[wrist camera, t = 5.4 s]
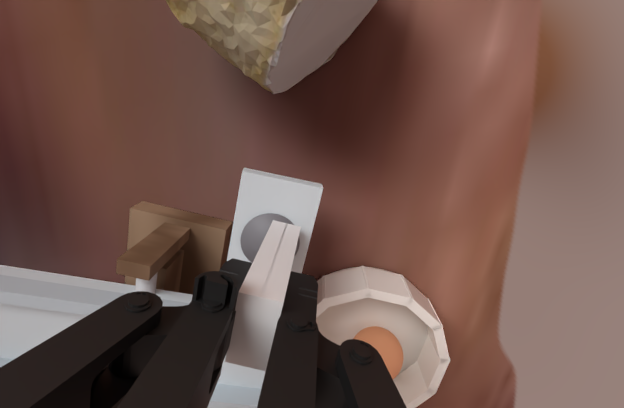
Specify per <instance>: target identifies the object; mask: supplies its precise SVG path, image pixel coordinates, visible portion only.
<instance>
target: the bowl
mask: <svg viewBox="0 0 624 408" xmlns="http://www.w3.org/2000/svg"><path fill="white" fill-rule="evenodd" d="M317 283H318V297H317V314H316V323H317V325H318V329H319V331H320V333H321V334H322V335H323V336H324V337H325V338H327V339H328V340H330V341H332V342H334V343H336V344H338V345H341V344H342V342H344V341H346V340H348V339H353V338H354V337H355V335H356V334H357V333H358V332H359V331H361V330H362V329H364V328H367V327H372V326H377V327H382V328H385V329H387V330H389V331H390V332H391V333H393V334H394V335H395V336H396V338H397V339H398V341H399V342H400V344H401V347H402V350H403V365H402V368H401V370H400V372H399V374H398V375H397V376H396V377H395V378H394V379H393V381H394V383H395V385H396V387H397V389H398V391H399V393H400V395H401V397H402V399H403V401H404V403H405V405H406V407H407V408H416V407H417V406H419V405H420V404H422V403H423V402H424V401H426V400H427V399H429V398H430V397H431V396H433V395H434V394H436V391H437V389H438V387H439V385H440V382H441V380H442V378H443V376H444V373H445V371H446V369H447V367H448V364H449V362H450V358H449V354H448V349H447V344H446V340H445V335H444V331H443V325H442V323H441V321H440V319H439V318H438V316H437V314H436V312H435V310H434V308H433V306H432V304H431V303H430V301H429V299H427V298H426V297H425V296H424V295H423V294H422V293H421V292H420V291H419V290H418V289H417V288H416V287H415V286H414V285H413V284H412V283H411V282H409V281H408V280H407V279H406V278H404V277H403V275H401V274H396V273H393V272H391V271H388V270H384V269H381V268H375V267H365V266H360V267H351V268H346V269H342V270H338V271H335V272H332V273H330V274H328V275H324V276H322V278H321V279H319V280H318V281H317Z"/></svg>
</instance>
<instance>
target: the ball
mask: <svg viewBox="0 0 624 408" xmlns="http://www.w3.org/2000/svg"><path fill="white" fill-rule="evenodd" d="M353 339H357V340H362V341H364V342H366V343H368V344H370V345H371V346H373V347H374V348H375V349H376V350H377V351H378V352H379V354H380V355H381V357H382V359H383V361H384V363H385V365H386V367H387V369H388V371H389V373H390V375H391V377H392V379H394V378H395V377H396V376H397V375H398V374H399V372H400V370H401V368H402V365H403V350H402V347H401V344H400V342H399V341H398V339H397V338H396V336H395V335H394V334H393V333H391V332H390V331H389V330H387V329H385V328H382V327H377V326H372V327H367V328H364V329H362V330H361V331H359V332H358V333H357V334H356V335H355V337H354V338H353Z"/></svg>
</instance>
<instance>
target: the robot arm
mask: <svg viewBox="0 0 624 408" xmlns="http://www.w3.org/2000/svg"><path fill="white" fill-rule="evenodd" d="M300 229H301V227H300V226H296V225H292V224H288V223H283V222H279V221H275V220H273V221H272V223H271V226H270V228H269V230H268V232H267V234H266V236H265V238H264V240H263V242H262V244H261V246H260V248H259V251H258V253H257V255H256V257H255V259H254V261H253V263H251V262H247V261H242V260H238V259H234V258H232V259H230V260H229V261H227V262H225V263H224V264H223V265H222V267H221V268H220V271H209V272H204V273H201V274H199V275H198V276H197V277H195V282H194V289H193V296H192V301H191V302H190V304H189V305H185V306H162V305H163V302H162V300H161V298H160V297H159V296H157V295H156V294H154V293H150V292H146V291H136V292H131V293H127V294H125V295H122V296H120V297H118V298H116V299H115V300H113V301H111V302H110V303H108V304H106V305H105V306H103V307H101V308H100V309H98V310H96V311H95V312H93V313H91V314H90V315H88V316H86V317H84V318H83V319H81V320H79V321H78V322H76V323H74V324H73V325H71V326H69V327H68V328H66V329H64V330H63V331H61V332H59V333H58V334H56V335H54V336H52V337H51V338H49V339H47V340H46V341H44V342H42V343H41V344H39V345H37V346H36V347H34V348H32V349H31V350H29V351H27V352H26V353H24V354H22V355H20V356H19V357H17V358H15V359H14V360H12V361H10V362H9V363H7V364H5V365H4V366H2V367H0V408H207V407H208V405H209V402H210V400H211V397H212V395H213V392H214V390H215V387H216V385H217V382H218V380H219V377H220V375H221V369H222V364H223V361H224V358H225V356H226V359H225V362H227V363H232V364H236V365H241V366H245V367H249V368H254V369H258V370H262V371H266V372H265V376H264V380H263V384H262V388H261V392H260V396H259V401H258V405H257V408H407V407H406V405H405V403H404V401H403V399H402V397H401V395H400V393H399V391H398V389H397V387H396V385H395V383H394V381H393V379H392V377H391V375H390V373H389V371H388V369H387V367H386V365H385V363H384V361H383V359H382V357H381V355H380V354H379V352H378V351H377V350H376V349H375V348H374V347H373V346H371V345H370V344H368V343H366V342H364V341H362V340H357V339H348V340H346V341H344V342H342V344H341V345H338V344H336V343H334V342H332V341H330V340H328V339H327V338H325V337H324V336H323V335H322V334H321V333H320V331H319V329H318V325H317V323H316V314H317V297H318V283H317V281H316V279H315V278H314V276H310V275H306V274H301V273H297V272H293V271H291V268H292V264H293V259H294V255H295V251H296V246H297V242H298V237H299V233H300Z"/></svg>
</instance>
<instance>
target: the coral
mask: <svg viewBox="0 0 624 408" xmlns="http://www.w3.org/2000/svg"><path fill="white" fill-rule="evenodd" d="M377 1H378V0H166V2H167V4H168V5H169V7H170V9H171V11H172V12H173V13H174V15H175V16H176V18H177V19H178V20H179V22H180V23H181V24H182V25H183V26H184V27H185V28H189V29H193V30H194V31H195V32H196V33H197V34H198V35H199V36H200V37H201V38H202V39H204V40H205V41H206V42H207V44H208V46H210V47H211V48H213V49H214V50H215V51H216V52H217V53H219V54H220V55H221V56H222V57H223V58H225V59H226V60H227V61H228V62H230V63H231V64H232V65H234V66H235V67H237V68H240V69H241V70H242V72H243V73H244V75H246V76H248V77H250V78H251V79H253V80H254V81H256V82H257V83H258V84H259V85H261V86H262V87H263V88H264V89H265V90H268V91H270V92H271V93H272V94H276V93H282V92H284V91H287V90H288V89H290V88H291V87H292V86H294V85H295V84H297V83H298V82H299V81H301V80H302V79H303V78H304V77H306V76H307V75H309V74H310V73H312V72H314V71H315V70H317V69H318V68H319V67H321V66H322V65H323V64H324V63H326V62H328V61H330V60H331V59H332V58H333V56H334V55H335V53H336V51H337V50H338V48H339V46H340V45H342V44H343V43H344V42H345V41H346V40H347V39H348V37H349V36H350V35H351V34H352V32H353V31H354V30H355V29H356V28H357V26H358V25H359V24H360V23H361V21H362V20H363V19H364V18H365V17H366V15H367V14H368V13H369V12H370V10H371V9H372V8H373V6H374V5H375V4H376V3H377Z"/></svg>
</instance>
